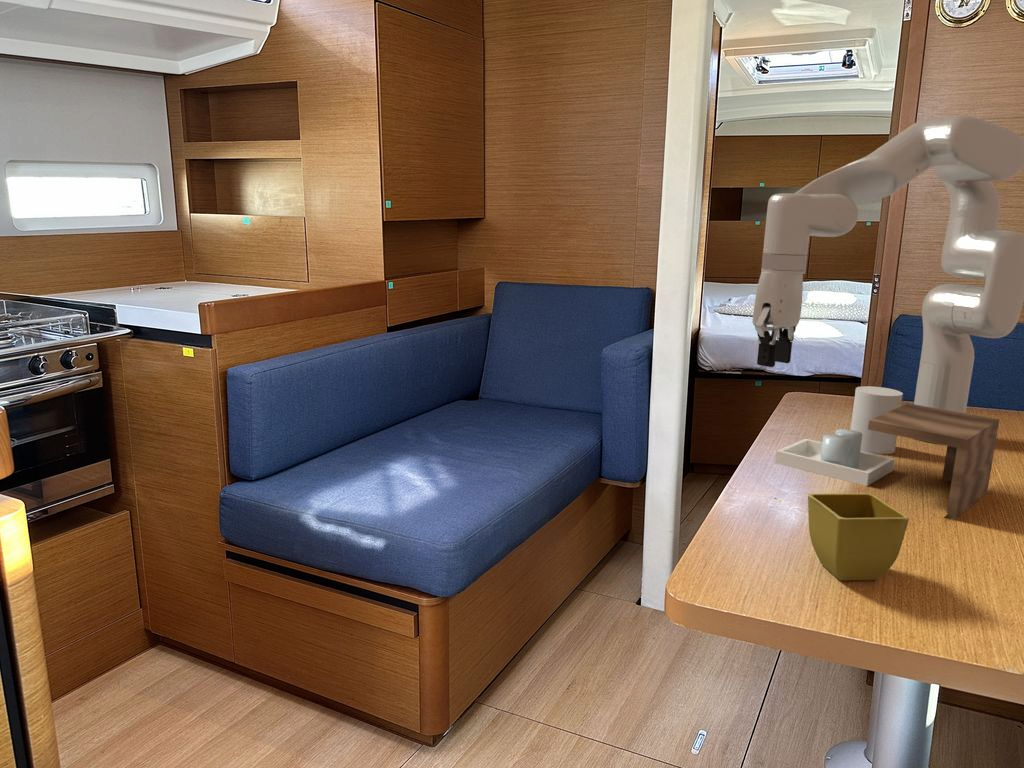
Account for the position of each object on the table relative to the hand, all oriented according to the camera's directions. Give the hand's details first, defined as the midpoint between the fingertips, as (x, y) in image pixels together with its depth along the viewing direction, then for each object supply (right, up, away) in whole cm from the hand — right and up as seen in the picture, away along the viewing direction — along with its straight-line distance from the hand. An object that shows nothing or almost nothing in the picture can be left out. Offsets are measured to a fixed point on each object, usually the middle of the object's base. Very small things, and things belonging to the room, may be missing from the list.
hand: (773, 362), depth 141 cm
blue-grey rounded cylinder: (+8, -19, -8) cm, 22 cm away
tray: (+9, -19, -5) cm, 22 cm away
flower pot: (-6, -28, -45) cm, 53 cm away
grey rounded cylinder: (+11, -18, -4) cm, 22 cm away
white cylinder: (+21, -17, +7) cm, 28 cm away
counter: (+19, -22, -15) cm, 33 cm away
